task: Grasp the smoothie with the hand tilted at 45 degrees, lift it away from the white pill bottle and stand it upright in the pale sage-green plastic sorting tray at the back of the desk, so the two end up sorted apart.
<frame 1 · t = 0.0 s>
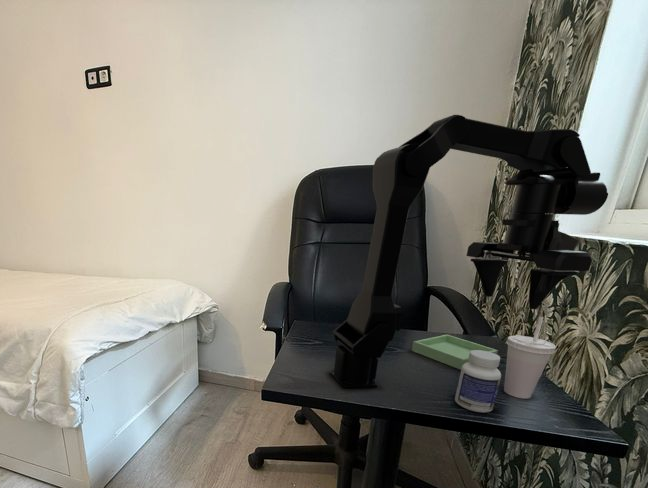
hand: (509, 302, 65), 15 cm above the table, tool pointing down, fingers open, 9 cm apart
smoothie: (516, 394, 62), on the table
pill bottle: (472, 405, 58), on the table
sorting tray: (452, 355, 79), on the table
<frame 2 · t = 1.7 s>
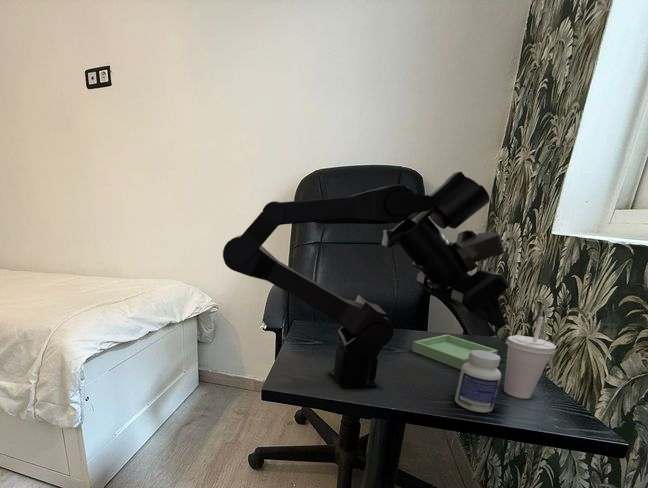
hand: (486, 318, 60), 13 cm above the table, tool tilted 45°, fingers open, 9 cm apart
nothing on the table moved.
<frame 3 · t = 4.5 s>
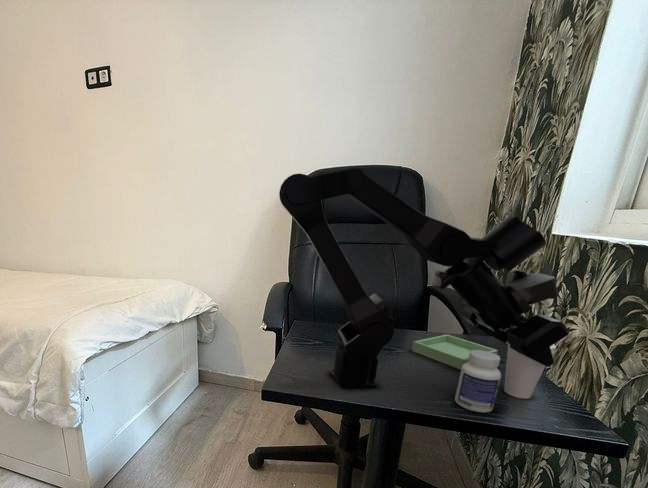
hand: (536, 356, 60), 7 cm above the table, tool tilted 45°, fingers closed on smoothie, 6 cm apart
smoothie: (516, 394, 62), on the table, touching gripper
everything else where it was.
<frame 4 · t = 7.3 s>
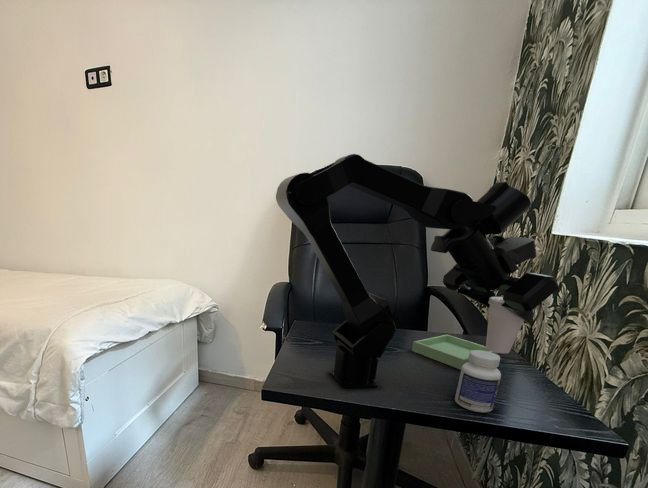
hand: (513, 314, 66), 12 cm above the table, tool tilted 45°, fingers closed on smoothie, 6 cm apart
smoothie: (497, 350, 68), point 5 cm above the table, touching gripper
everything else where it was.
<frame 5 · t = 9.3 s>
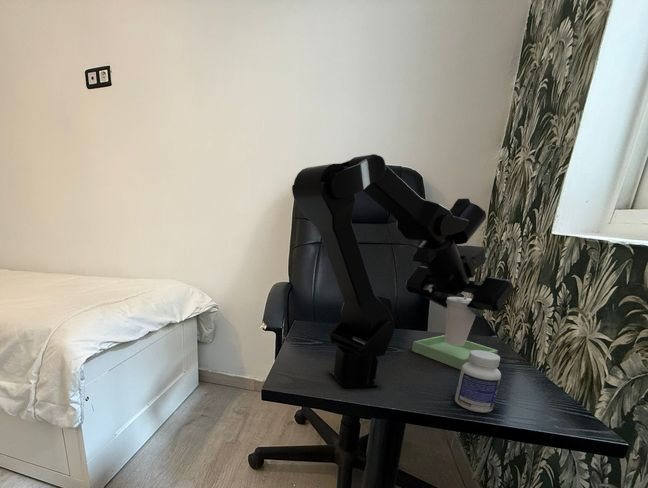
hand: (465, 311, 76), 10 cm above the table, tool tilted 45°, fingers closed on smoothie, 6 cm apart
smoothie: (454, 343, 78), point 3 cm above the table, touching gripper
everything else where it was.
when the fingers open (8 cm above the table, at t = 10.5 s): smoothie stays where it is, resting on sorting tray.
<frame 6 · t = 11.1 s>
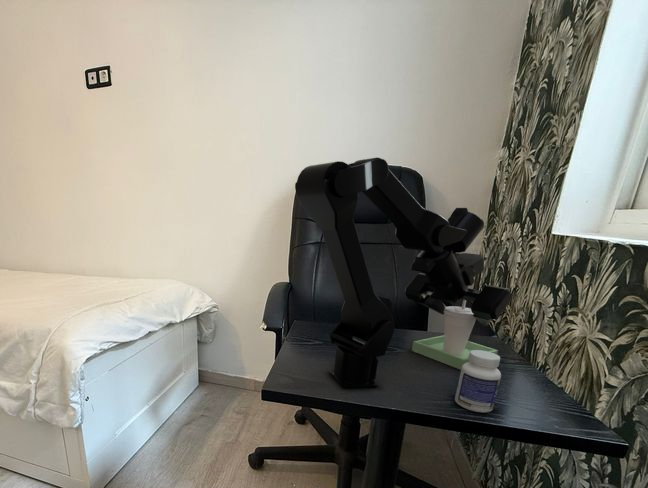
hand: (464, 318, 77), 8 cm above the table, tool tilted 45°, fingers open, 9 cm apart
smoothie: (452, 353, 78), point 1 cm above the table, touching sorting tray
everything else where it was.
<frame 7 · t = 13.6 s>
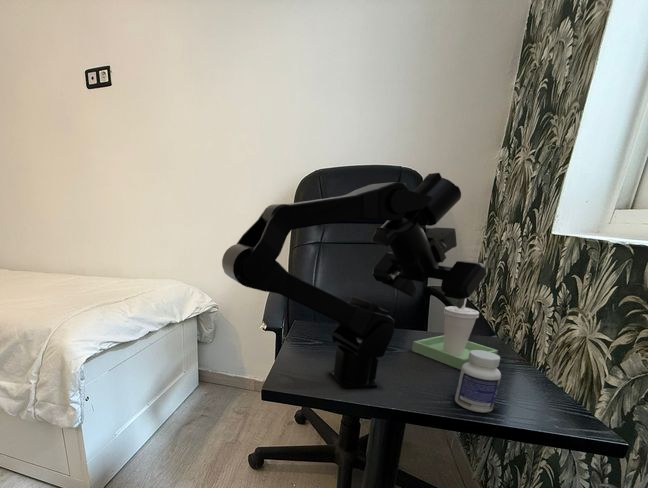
hand: (437, 301, 70), 14 cm above the table, tool tilted 45°, fingers open, 9 cm apart
nothing on the table moved.
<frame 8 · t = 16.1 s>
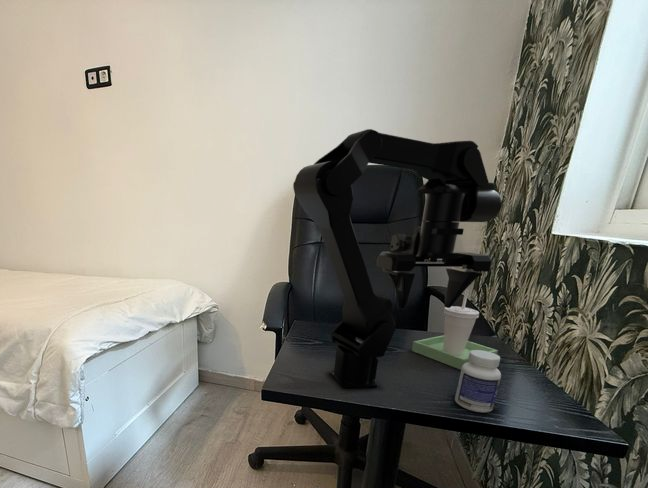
hand: (424, 307, 67), 13 cm above the table, tool pointing down, fingers open, 9 cm apart
nothing on the table moved.
at the end: smoothie inside the target area in the sorting tray (0.2 cm from its centre), point 0.6 cm above the sorting tray's base; smoothie tilted 0°; pill bottle moved 0.2 cm from its start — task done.
